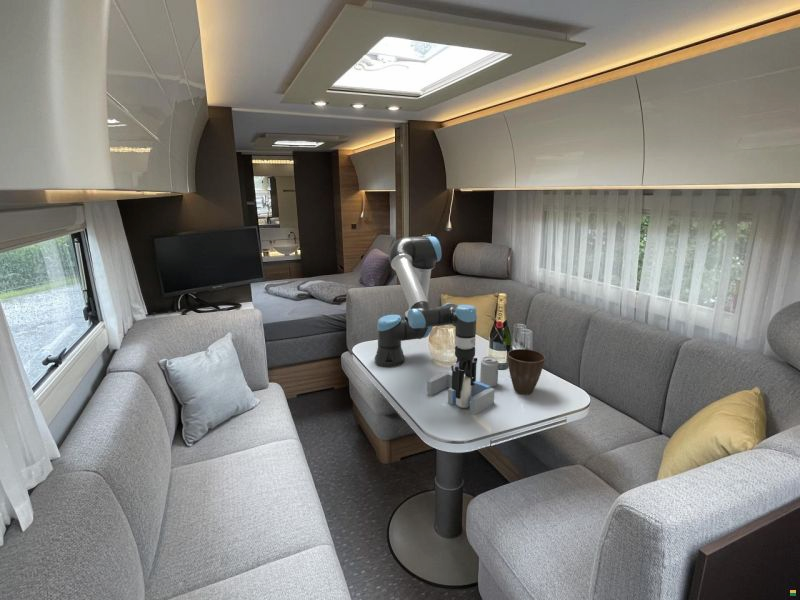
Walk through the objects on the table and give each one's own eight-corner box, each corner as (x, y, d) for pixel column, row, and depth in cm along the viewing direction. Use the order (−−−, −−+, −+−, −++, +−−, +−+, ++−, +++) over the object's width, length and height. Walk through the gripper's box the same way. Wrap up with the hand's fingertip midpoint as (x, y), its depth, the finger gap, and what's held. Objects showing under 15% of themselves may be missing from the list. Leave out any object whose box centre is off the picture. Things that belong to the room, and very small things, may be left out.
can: (477, 385, 173) (478, 360, 170) (482, 379, 180) (483, 354, 177) (494, 389, 170) (496, 363, 167) (499, 382, 176) (500, 357, 173)
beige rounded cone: (454, 404, 155) (455, 378, 152) (462, 400, 158) (463, 374, 155) (464, 409, 151) (465, 382, 149) (472, 404, 155) (473, 378, 152)
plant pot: (514, 379, 178) (516, 346, 175) (547, 389, 169) (550, 354, 165) (499, 391, 167) (501, 356, 164) (534, 402, 158) (537, 365, 154)
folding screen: (427, 394, 166) (427, 379, 164) (447, 384, 175) (447, 370, 173) (474, 414, 149) (475, 398, 148) (494, 402, 158) (494, 387, 157)
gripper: (458, 355, 140) (457, 414, 146) (487, 342, 152) (484, 397, 158) (442, 349, 145) (441, 407, 151) (471, 338, 158) (469, 391, 163)
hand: (463, 402), depth 154 cm, fingers closed on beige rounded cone, 5 cm apart
